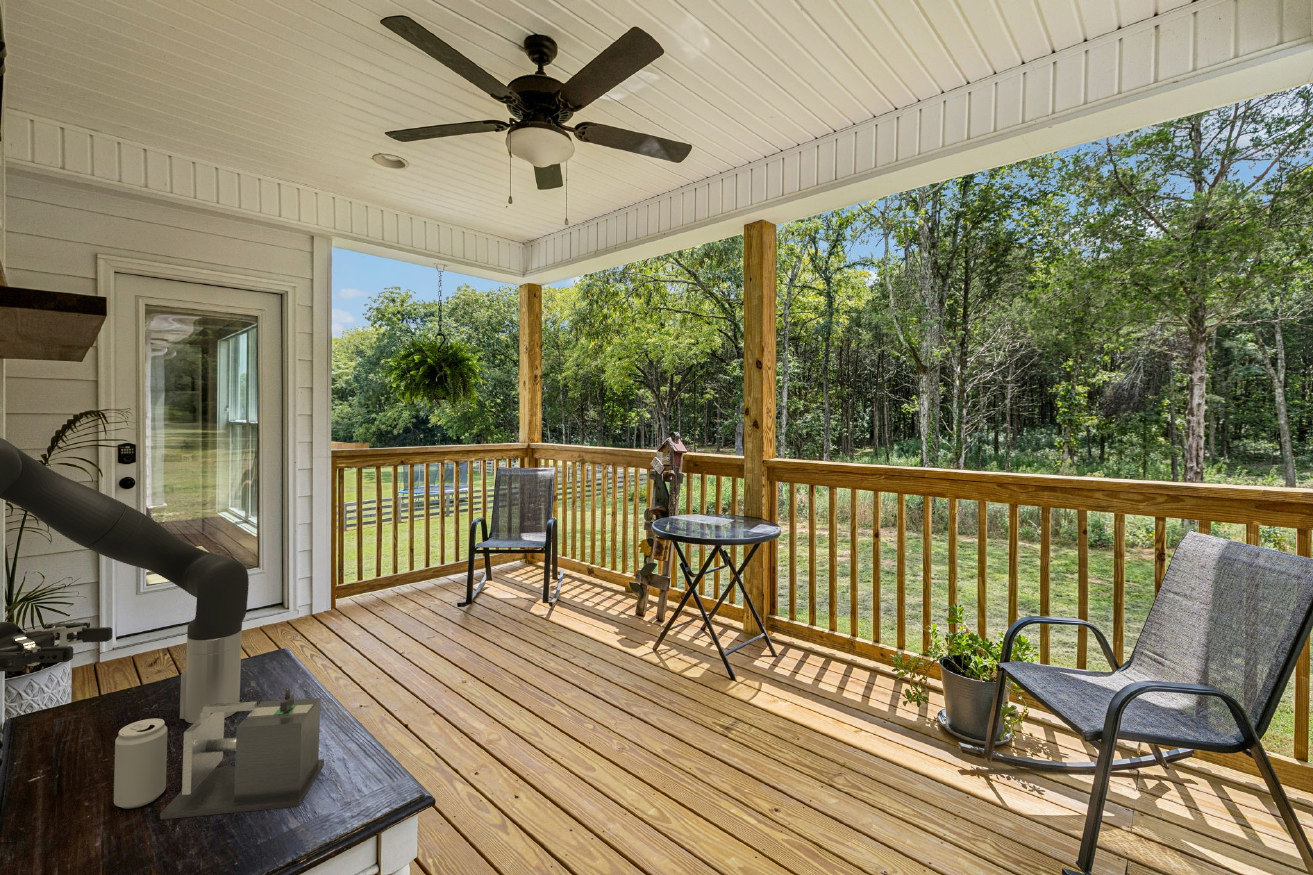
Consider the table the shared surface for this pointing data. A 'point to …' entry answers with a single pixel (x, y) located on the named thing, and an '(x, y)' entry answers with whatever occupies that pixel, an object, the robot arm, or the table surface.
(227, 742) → the paddle
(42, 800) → the table surface
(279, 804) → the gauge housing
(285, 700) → the peak needle
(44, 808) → the table surface
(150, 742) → the beverage can
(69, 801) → the table surface
